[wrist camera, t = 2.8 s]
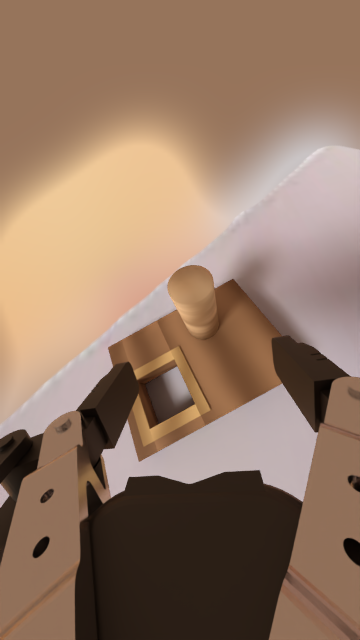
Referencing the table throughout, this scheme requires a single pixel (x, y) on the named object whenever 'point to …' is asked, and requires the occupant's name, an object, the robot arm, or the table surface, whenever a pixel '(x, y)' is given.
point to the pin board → (199, 367)
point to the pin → (195, 300)
